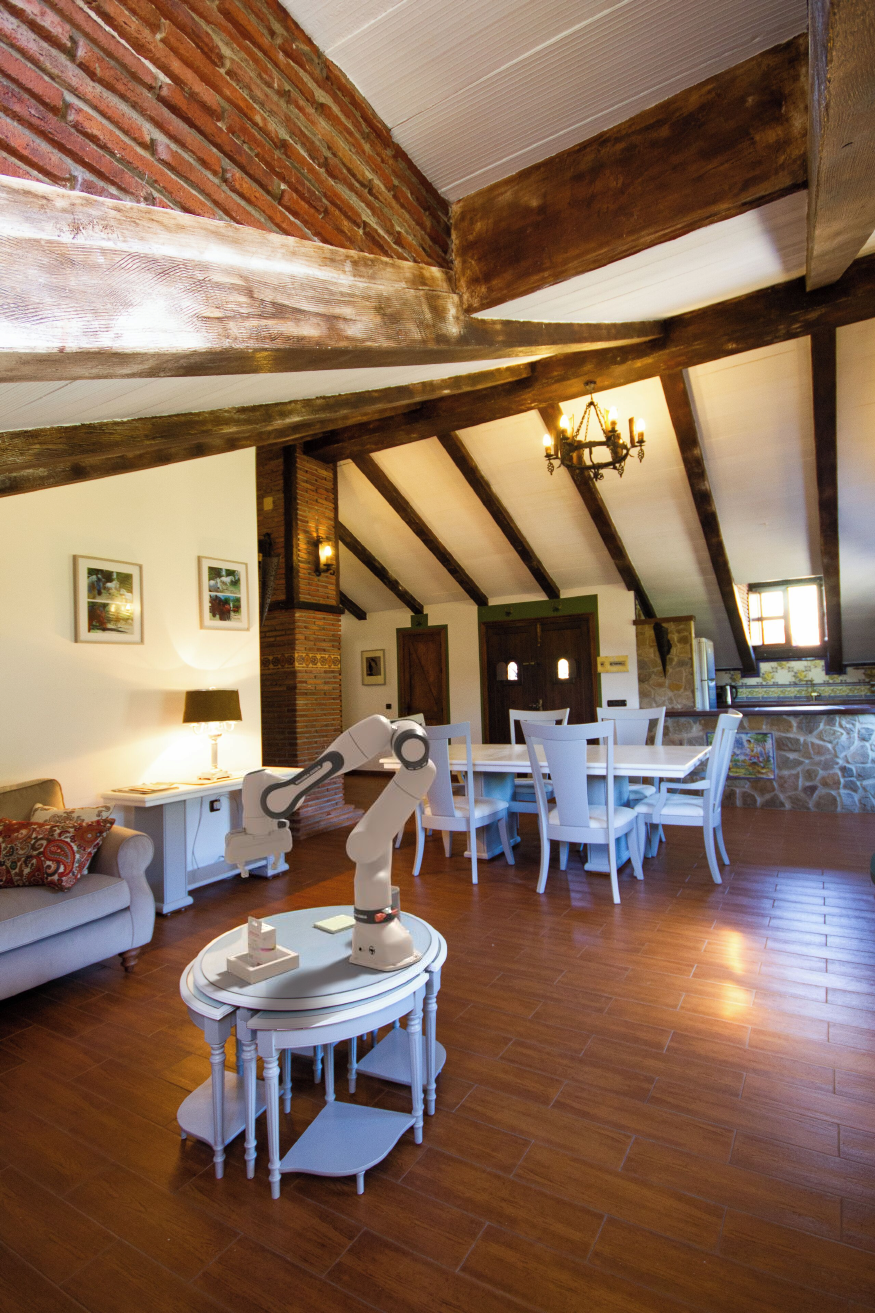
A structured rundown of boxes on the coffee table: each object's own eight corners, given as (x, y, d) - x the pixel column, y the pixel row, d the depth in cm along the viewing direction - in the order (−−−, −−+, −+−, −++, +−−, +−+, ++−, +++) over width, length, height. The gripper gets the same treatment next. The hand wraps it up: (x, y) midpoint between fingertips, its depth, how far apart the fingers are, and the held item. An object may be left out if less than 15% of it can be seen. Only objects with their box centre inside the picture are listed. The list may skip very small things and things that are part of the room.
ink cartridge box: (278, 969, 187) (276, 917, 188) (262, 975, 183) (261, 921, 185) (263, 962, 193) (261, 911, 194) (247, 968, 190) (246, 916, 191)
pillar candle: (366, 932, 214) (364, 886, 215) (389, 924, 220) (387, 879, 221) (384, 940, 207) (381, 891, 208) (407, 931, 213) (405, 884, 214)
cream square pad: (363, 924, 223) (362, 921, 223) (333, 933, 215) (333, 930, 215) (342, 917, 232) (342, 914, 232) (313, 926, 223) (313, 923, 223)
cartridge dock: (299, 967, 188) (298, 954, 188) (251, 984, 178) (251, 971, 178) (273, 954, 199) (272, 943, 199) (226, 970, 188) (226, 957, 189)
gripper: (229, 832, 182) (231, 883, 181) (293, 820, 196) (295, 867, 195) (219, 830, 187) (221, 879, 185) (283, 819, 201) (284, 864, 200)
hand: (259, 873), depth 190 cm, fingers open, 8 cm apart
